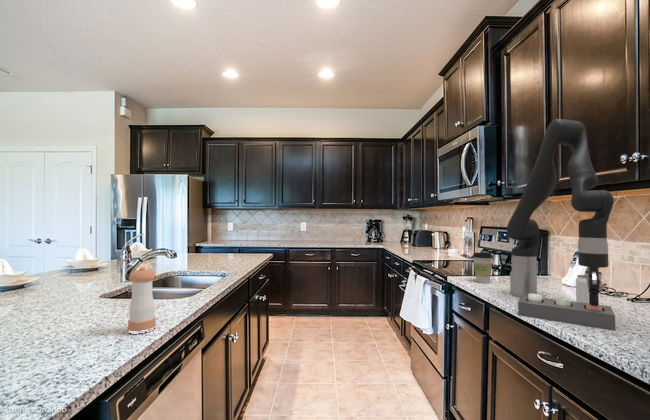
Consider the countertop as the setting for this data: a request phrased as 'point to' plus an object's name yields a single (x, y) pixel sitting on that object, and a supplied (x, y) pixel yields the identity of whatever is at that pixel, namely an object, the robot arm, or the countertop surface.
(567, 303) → the button sage
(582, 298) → the grey block
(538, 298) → the button cream
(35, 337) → the countertop surface
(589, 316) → the panel
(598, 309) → the button terracotta
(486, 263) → the coffee cup
